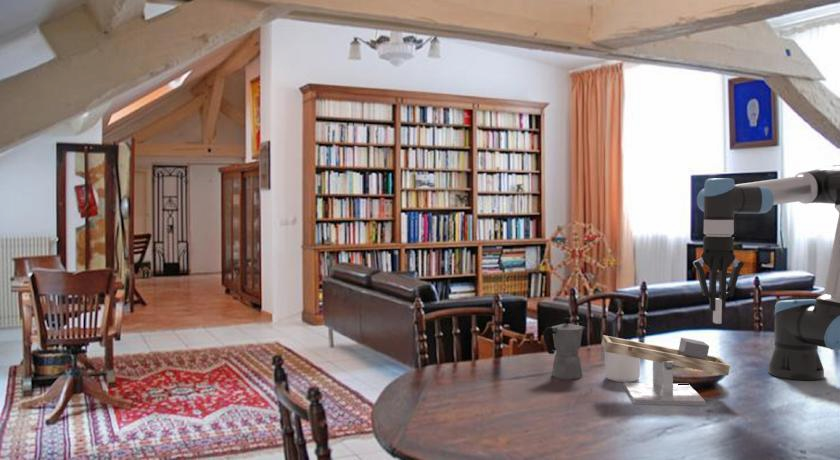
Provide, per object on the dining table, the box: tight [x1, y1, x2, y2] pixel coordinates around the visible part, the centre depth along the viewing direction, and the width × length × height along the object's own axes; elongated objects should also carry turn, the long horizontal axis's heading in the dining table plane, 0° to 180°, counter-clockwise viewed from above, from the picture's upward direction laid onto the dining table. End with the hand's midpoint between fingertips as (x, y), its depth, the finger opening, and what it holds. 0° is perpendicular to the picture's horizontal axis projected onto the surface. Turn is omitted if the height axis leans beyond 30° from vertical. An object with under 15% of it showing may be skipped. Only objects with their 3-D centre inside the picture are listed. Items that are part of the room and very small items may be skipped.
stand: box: [623, 360, 707, 407], centre depth 196 cm, size 18×18×11 cm
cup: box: [604, 350, 641, 383], centre depth 215 cm, size 10×10×10 cm
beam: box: [601, 334, 731, 376], centre depth 196 cm, size 32×11×4 cm, turn 83°
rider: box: [678, 337, 710, 360], centre depth 195 cm, size 6×6×5 cm
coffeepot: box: [542, 317, 586, 380], centre depth 219 cm, size 15×9×18 cm, turn 116°
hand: (717, 322), depth 193 cm, fingers closed
